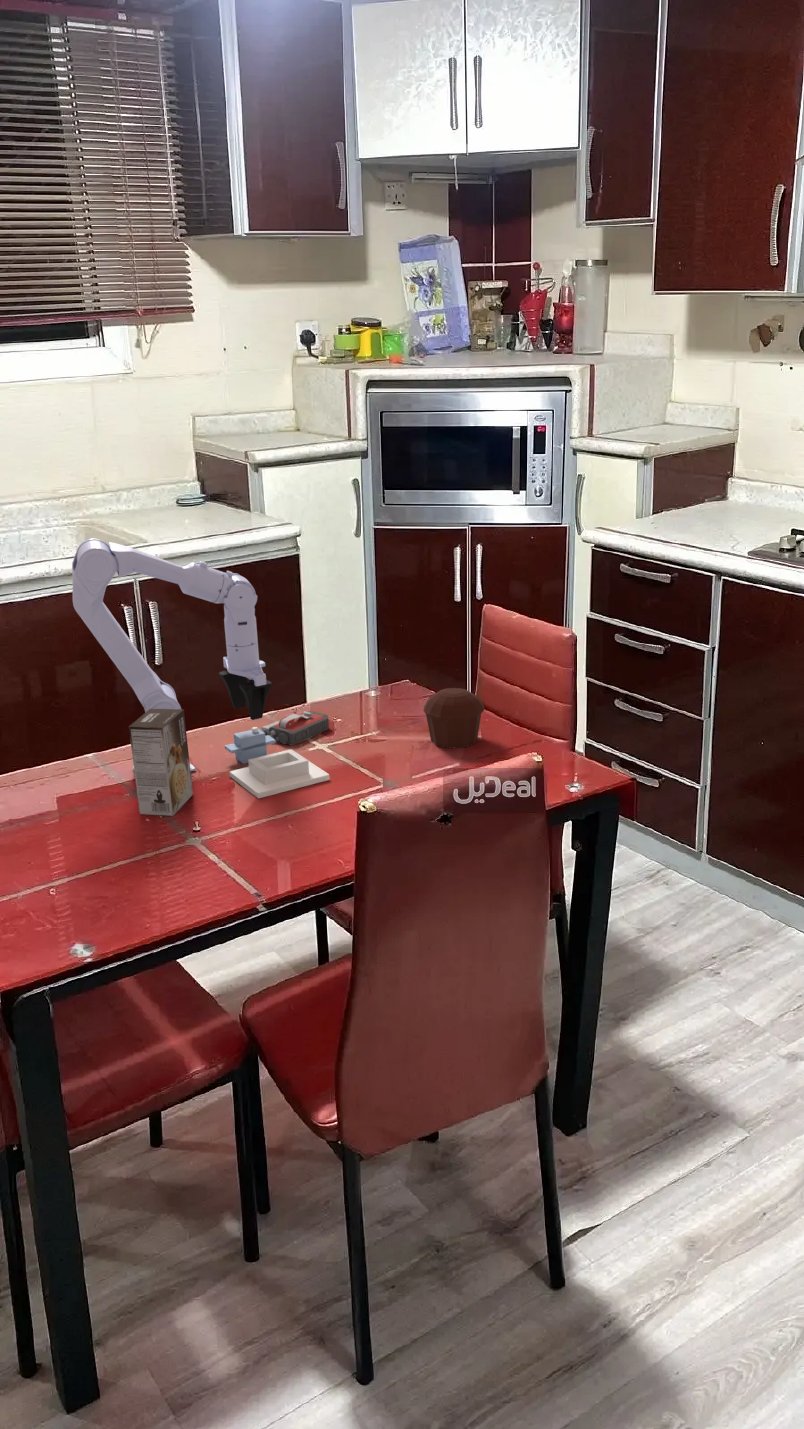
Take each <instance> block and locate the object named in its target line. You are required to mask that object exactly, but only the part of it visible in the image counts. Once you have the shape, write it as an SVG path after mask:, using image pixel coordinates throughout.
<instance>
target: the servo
mask: <svg viewBox="0 0 804 1429" xmlns="http://www.w3.org/2000/svg"><path fill="white" fill-rule="evenodd" d="M233 742H234V743H229V744H228V743H227V744H225V745H224V750H226V751H227V752H229V753H230V754H235V759H236V760H237V761H239V762H240V763H241V764H247V763H248V760H249V759H253V758H257V757H261V756H265V755H268V752H267V746H269V745H273V744H276V743H277V741H276V740H275V739H273V738H272V737H270V736H269V735H267V736H265V733H264V732H263V731H262V729H261V728H259V727H257V726H253V727H251V729H248V730H245V731H240V732H235V733H233ZM248 764H249V763H248Z"/></svg>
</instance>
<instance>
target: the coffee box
mask: <svg viewBox="0 0 804 1429" xmlns="http://www.w3.org/2000/svg"><path fill="white" fill-rule="evenodd" d="M128 729H129V730H128V731H129V740H131V741H130V748H132V749H131V756H133V758H132V764H134V770H133V771H134V777H135V786H136V793H137V794H136V795H137V802H138V810H139V814H140V815H151V816H152V815H153V816H169V817H173V816H175V814H177V812H178V811H179V810H180V809H181V808H182V807H183V806H185V804H186V803H187V801H188V800H190V798H191V797H192V796H193V795H194V791H193V782H192V771H190V764H191V762H190V755H189V754H190V753H189V752H190V751H189V746H188V736H187V734H188V733H187V727H186V719H185V709H182V708H181V709H149V710H148V711H147V712H146V713H143V714H142V715H141V716H140V717H139V718H137V719H136V720H135V721H134V722H132V723H131V724H130V725H128Z"/></svg>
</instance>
